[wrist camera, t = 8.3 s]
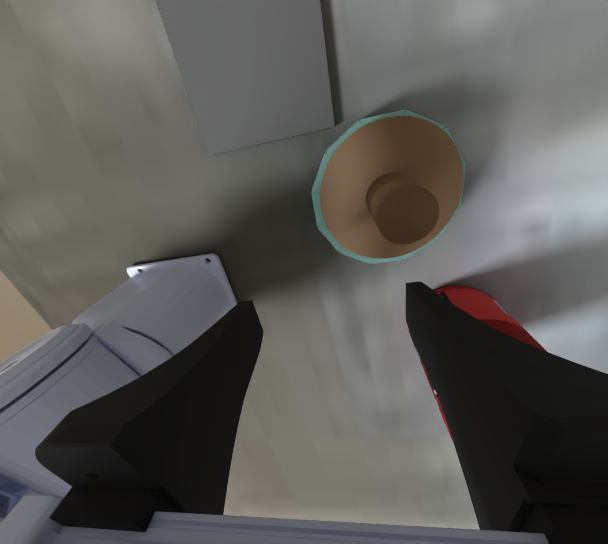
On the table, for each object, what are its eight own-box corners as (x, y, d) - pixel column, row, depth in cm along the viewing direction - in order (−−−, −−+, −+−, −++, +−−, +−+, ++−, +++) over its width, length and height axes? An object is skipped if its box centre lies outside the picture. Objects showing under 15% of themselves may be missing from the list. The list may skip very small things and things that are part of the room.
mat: (212, 155, 18) (209, 155, 17) (153, -19, 14) (146, -25, 13) (334, 126, 16) (334, 126, 16) (310, -81, 12) (309, -90, 12)
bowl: (325, 251, 21) (324, 269, 18) (305, 133, 17) (300, 133, 14) (438, 236, 19) (456, 253, 16) (447, 100, 15) (474, 93, 12)
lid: (335, 262, 18) (337, 304, 13) (305, 143, 14) (295, 146, 10) (454, 238, 16) (501, 276, 12) (456, 94, 12) (524, 72, 8)
